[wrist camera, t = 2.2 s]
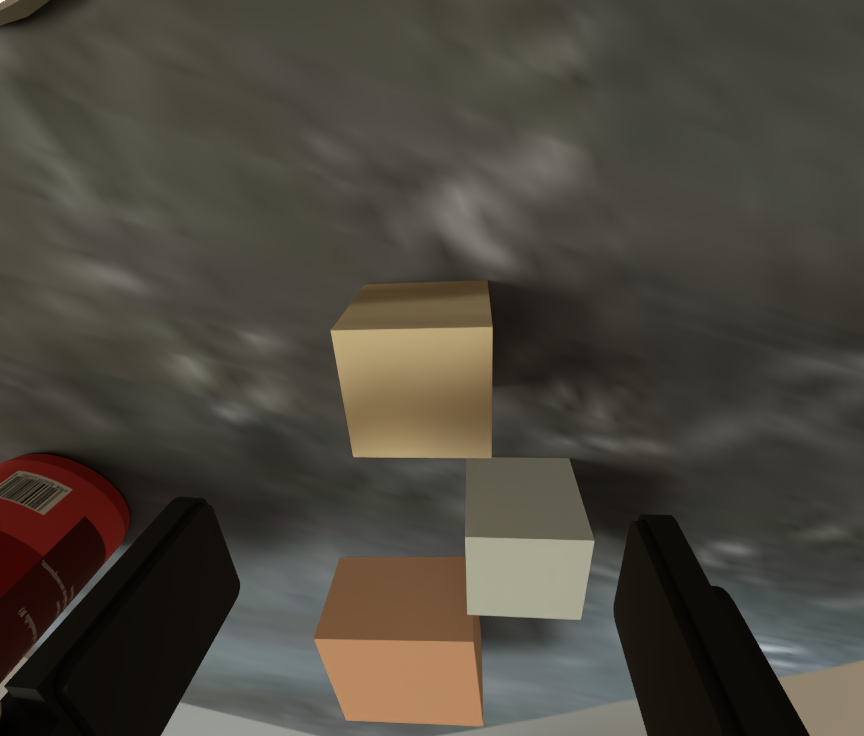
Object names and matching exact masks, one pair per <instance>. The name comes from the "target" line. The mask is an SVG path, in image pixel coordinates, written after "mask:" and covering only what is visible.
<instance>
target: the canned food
mask: <svg viewBox="0 0 864 736" xmlns="http://www.w3.org/2000/svg"><path fill="white" fill-rule="evenodd" d="M129 524H130V513H129V510H128V507H127V504H126V502H125V501H124V499H123V497H122V496H121V494H120V493H119V492H118V491H117V489H116V488H115V487H114V486H113V485H112V484H111V483H110V482H108V481H107V480H106V479H105V478H104V477H102V476H101V475H99V474H98V473H97V472H95V471H94V470H92V469H90V468H88V467H86V466H84V465H82V464H80V463H78V462H75V461H72V460H70V459H67V458H63V457H59V456H55V455H47V454H27V455H23V456H19V457H16V458H14V459H11V460H8V461H6V462H3V463H1V464H0V683H1V682H2V681H3V680H4V679H5V678H6V677H7V675H8V674H9V673H10V672H11V671H12V670H13V668H14V667H15V666H16V665H17V664H18V663H19V661H20V660H21V659H22V658H23V657H24V656H25V655H26V653H27V652H28V651H29V650H30V649H31V648H32V646H33V645H34V644H35V643H36V642H37V641H38V640H39V638H40V637H41V636H42V635H43V634H44V633H45V631H46V630H47V629H48V628H49V627H50V626H51V624H52V623H53V622H54V621H55V620H56V619H57V618H58V616H59V615H60V614H61V613H62V612H63V611H64V609H65V608H66V607H67V606H68V605H69V604H70V603H71V601H72V600H73V599H74V598H75V597H76V596H77V594H78V593H79V592H80V591H81V590H82V589H83V588H84V586H85V585H86V584H87V583H88V582H89V581H90V579H91V578H92V577H93V576H94V575H95V574H96V572H97V571H98V570H99V569H100V568H101V567H102V566H103V564H104V563H105V562H106V561H107V560H108V559H109V557H110V556H111V555H112V554H113V553H114V552H115V551H116V549H117V548H118V547H119V546H120V544H121V543H122V541H123V539H124V537H125V535H126V533H127V531H128V528H129Z"/></svg>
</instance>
